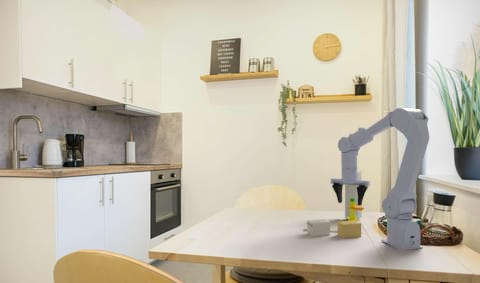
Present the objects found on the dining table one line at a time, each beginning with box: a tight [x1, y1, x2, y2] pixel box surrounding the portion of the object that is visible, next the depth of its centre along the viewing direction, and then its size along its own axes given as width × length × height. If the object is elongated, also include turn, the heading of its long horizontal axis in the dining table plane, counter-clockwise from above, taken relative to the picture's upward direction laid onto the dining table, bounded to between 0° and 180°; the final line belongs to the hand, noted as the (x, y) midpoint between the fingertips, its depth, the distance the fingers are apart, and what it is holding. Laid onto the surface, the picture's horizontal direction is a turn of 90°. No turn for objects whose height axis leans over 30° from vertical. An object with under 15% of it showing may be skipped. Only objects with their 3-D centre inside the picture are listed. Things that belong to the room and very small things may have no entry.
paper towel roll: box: [344, 170, 363, 221], centre depth 136 cm, size 7×6×21 cm
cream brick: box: [306, 218, 331, 237], centre depth 112 cm, size 4×7×5 cm, turn 103°
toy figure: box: [346, 198, 365, 222], centre depth 121 cm, size 7×4×12 cm, turn 61°
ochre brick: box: [336, 220, 362, 239], centre depth 110 cm, size 4×7×5 cm, turn 103°
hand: (349, 203), depth 117 cm, fingers open, 7 cm apart
